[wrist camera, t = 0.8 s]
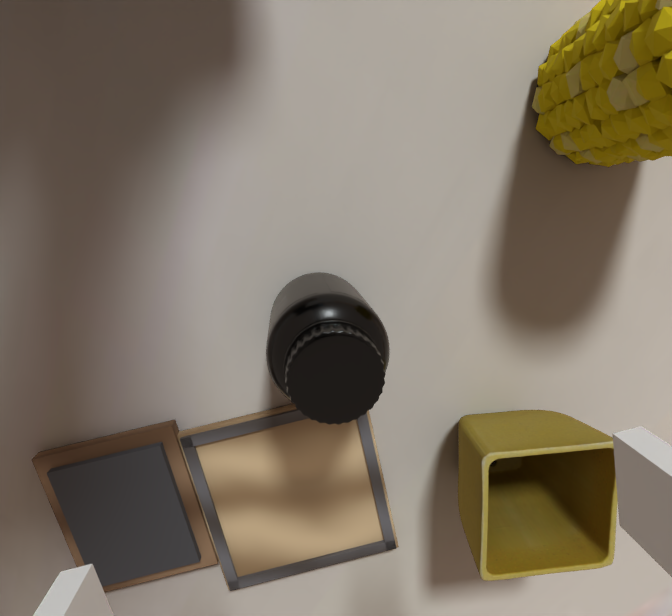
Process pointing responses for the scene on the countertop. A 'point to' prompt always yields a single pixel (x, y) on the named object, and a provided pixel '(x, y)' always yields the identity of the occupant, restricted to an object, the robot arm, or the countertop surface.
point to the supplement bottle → (326, 348)
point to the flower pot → (536, 493)
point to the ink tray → (123, 442)
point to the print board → (288, 493)
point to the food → (610, 85)
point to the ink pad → (126, 513)
